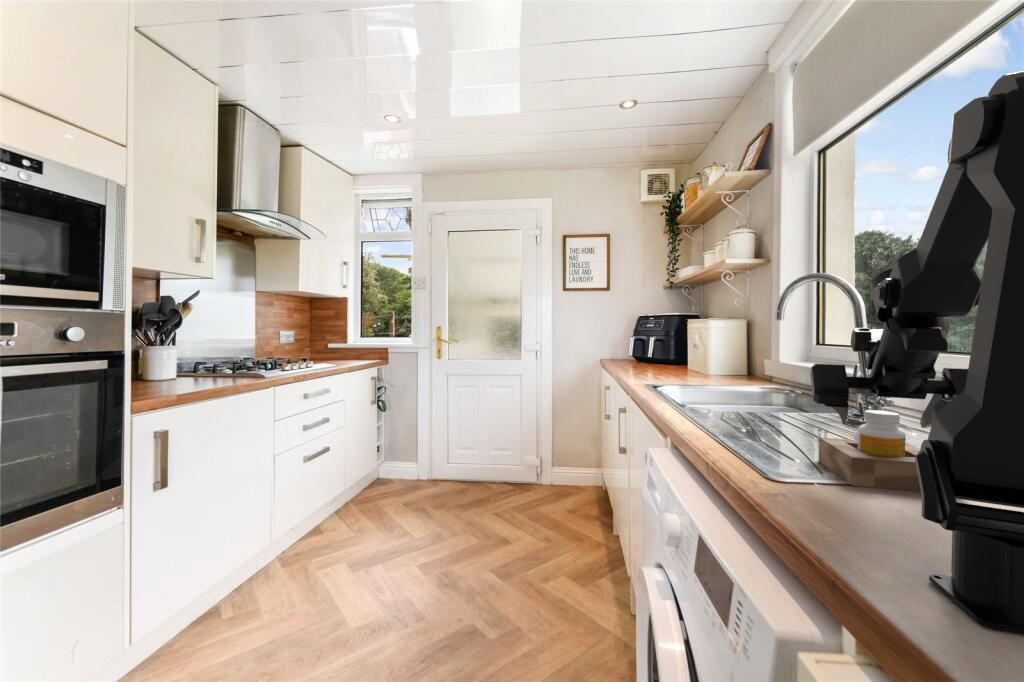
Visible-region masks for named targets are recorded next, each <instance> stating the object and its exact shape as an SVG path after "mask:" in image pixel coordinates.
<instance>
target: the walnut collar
mask: <svg viewBox="0 0 1024 682" xmlns="http://www.w3.org/2000/svg"><path fill="white" fill-rule="evenodd" d="M818 443H819V444H818V462H819V463H821V464H822V465H823V466H825V467H826V468H827V469H829V470H830V471H831V472H833V473H834V474H835V475H837V476H838V477H840V479H842V478H843V479H845V480H846V481H847V482H848V483H847V482H846V481H845V480H844V481H845V482H846V483H847V484H849V485H851V486H854V487H856V486H857V487H864V488H865V487H866V488H876V489H884V490H885V489H886V490H898V491H906V492H908V491H909V492H919V493H921V489H920V484H919V479H918V474H917V468H916V463H915V456H916V455H917V454H918V453H919V451H920V448H919V447H916V446H915V445H912V444H910V443H907V442H905V457H902V456H889V455H875V454H865V453H863V452H861V451H860V450H858V439H847V438H835V437H834V438H832V437H821V436H820V437H819V441H818ZM843 479H842V480H843Z"/></svg>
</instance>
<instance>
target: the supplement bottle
mask: <svg viewBox="0 0 1024 682" xmlns="http://www.w3.org/2000/svg"><path fill="white" fill-rule="evenodd" d="M900 417H901V416H900V413H897V412H893V411H887V410H877V409H876V410H875V409H867V410H864V415H863V418H864V421H865V422H866V423H863V424H861V425H859V427H858V431H857V440H858V450H860V451H861V452H863V453H865V454H875V455H889V456H902V457H905V443H906V439H907V438H906V432H905V431H904V429H902V428H901V427H898V425H899V424H900V421H901V420H900V419H901V418H900Z"/></svg>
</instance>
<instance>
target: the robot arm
mask: <svg viewBox="0 0 1024 682" xmlns="http://www.w3.org/2000/svg"><path fill="white" fill-rule="evenodd" d="M947 163H948V166H947V169H946V172H945V174H944V176H943V179H942V182H941V185H940V187H939V190H938V193H937V195H936V197H935V201H934V203H933V206H932V208H931V210H930V213H929V216H928V218H927V221H926V223H925V226H924V228H923V231H922V233H921V236H920V239H919V241H918V243H917V245H916V247H915V248H914V249H912V250H911V251H909V252H907V253H906V254H903V255H902V256H900V257H899V258H898V259H896V261H894V263H893V267H892V268H888V269H886V270H884V271H882V272H880V273H879V274H877V275H876V276H875V277H874V279H872V280H871V282H870V285H869V286H870V293H869V296H870V297H869V300H870V301H871V300H873V303H874V308H875V311H876V316H877V318H878V320H879V322H881V323H884V328H872V329H870V328H869V327H854V328H853V329H852V331H851V332H852V333H851V335H850V347H851V349H852V351H853V352H854V353H867V358H866V361H865V367H866V370H869V371H870V374H869V377H868V376H848V375H847V370H846V365H845V364H840V363H839V364H837V363H815V364H813V365H812V366H811V367H810V372H809V373H810V374H809V375H810V383H811V384H810V385H811V386H810V387H811V394H812V395H811V396H812V401H813V402H815V403H816V404H819V405H823V406H824V407H826V408H827V407H828V408H832V409H833V410H834V411H835V412H836V413H837V414H838V416H839V418H840V419H841V421H842V422H847V420H848V416H849V408H850V407H849V396H850V394H855V395H874V396H876V397H877V398H880V397H881V398H896V399H912V400H926V397H927V396H928V395H929V394H931V399H930V400H929V402H928V404H927V406H926V408H925V409H924V411H923V413H922V415H921V418H920V421H919V424H920V426H921V428H922V429H927V428H929V427H930V430H929V434H928V437H927V439H924V440H923V441H922V442H921V444H920V448H919V449H920V451H919V453H918V454H917V455H916V456H915V463H916V468H917V474H918V479H919V484H920V489H921V492H920V495H921V497H920V498H921V517H922V519H924V520H927V521H929V522H931V523H932V522H933V523H934V524H938V525H939V526H940V527H942V529H943V530H945V531H952V533H951V534H952V535H951V536H952V537H951V565H950V566H951V567H950V568H951V569H950V572H951V576H950V575H941V574H936V573H929V574H928V581H929V582H931V584H933V585H934V586H935V587H936V588H938V589H939V591H941V592H942V593H943V594H944V595H946V597H948V598H949V599H950V600H951V601H952V602H953V603H954V604H956V605H957V606H958V607H959V608H960V609H961V610H963V612H964V613H966V614H967V615H968V616H969V617H971V619H972V620H974V621H975V622H977V624H979V625H981V626H983V627H985V628H990V629H995V630H1002V631H1006V632H1013V633H1018V634H1019V633H1020V634H1024V511H1019V510H1012V509H1005V508H998V507H993V506H987V505H986V506H985V505H984V506H983V505H979V504H971V503H964V502H957V500H963V501H964V500H965V501H969V502H977V503H983V504H989V505H990V504H991V505H997V506H1006V507H1013V508H1020V509H1024V70H1022V71H1018V72H1012V73H1008V74H1007V73H1006V74H1003V75H1002V76H1001V77H999V78H998V79H997V80H996V81H995V83H994V84H993V85H992V87H991V88H990V90H989V92H988V94H987V95H985V96H981V97H976V98H973V99H972V100H971V101H969V102H968V103H967V104H965V105H964V106H963V107H961V108H960V109H958V110H957V111H956V112H955V113H953V116H952V128H951V137H950V141H949V144H948V148H947ZM985 247H986V252H985V258H984V264H983V271H982V278H981V276H980V274H979V270H978V269H977V262H978V260H979V258H980V256H981V255H982V252H983V251H984V249H985ZM976 306H977V309H976V315H975V324H974V330H973V335H972V336H973V337H972V341H971V342H972V343H971V350H970V355H969V362H968V363H969V364H968V367H967V368H961V367H960V368H959V367H958V368H957V367H943V368H942V371H941V376H937V372H936V369H935V364H936V362H937V360H938V358H939V356H940V354H941V352H942V353H943V352H944V353H945V352H947V351H948V350H949V348H948V347H949V343H948V339H947V337H948V334H949V333H950V329H951V328H950V323H949V322H948V320H947V319H946V318H960V317H963V318H964V317H966V316H967V315H968V314H970V313H971V312H972V310H973V309H974V307H976Z"/></svg>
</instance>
